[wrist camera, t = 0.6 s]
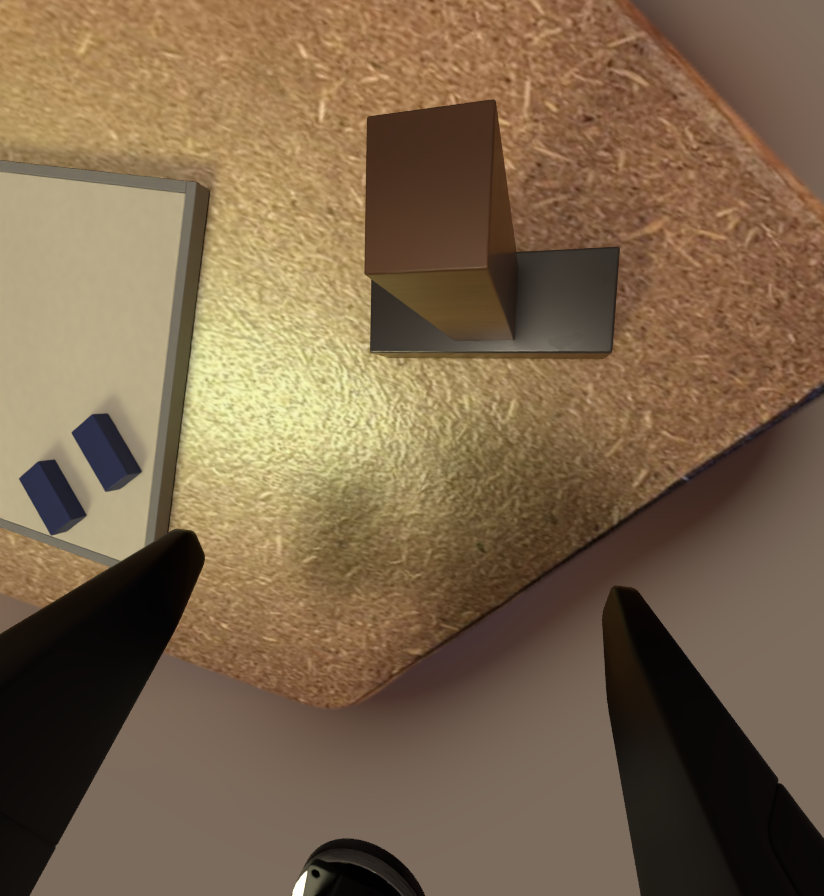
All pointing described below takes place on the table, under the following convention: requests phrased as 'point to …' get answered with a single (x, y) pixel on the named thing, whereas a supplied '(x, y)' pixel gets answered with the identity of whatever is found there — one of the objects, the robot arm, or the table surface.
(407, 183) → the brown rubber stamp
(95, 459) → the dark blue domino
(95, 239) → the whiteboard
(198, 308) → the table surface
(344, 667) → the table surface
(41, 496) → the navy block
